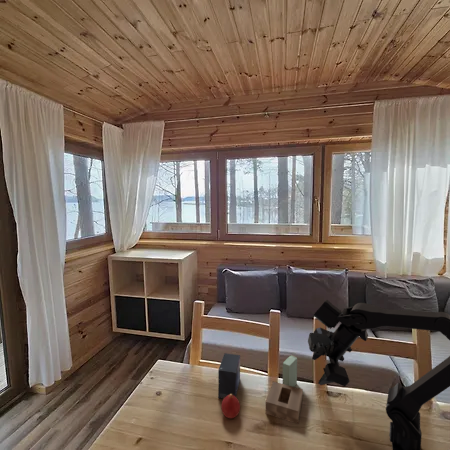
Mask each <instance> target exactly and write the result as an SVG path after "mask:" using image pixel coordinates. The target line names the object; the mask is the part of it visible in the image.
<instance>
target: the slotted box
mask: <svg viewBox="0 0 450 450" xmlns="http://www.w3.org/2000/svg"><path fill="white" fill-rule="evenodd" d="M303 392H304V389H303V388H299V387H295V386H294V387H292V386H288V385H285V384H283V383H281V382H276V381H272V383H271V385H270V389H269V391H268V394H267V396H266V399H265V414H266V415H270V416H272V417H275V418H279V419H282V420H286V421H287V422H288V421H289V422H290V423H294V424H297V425H298V424H299V420H300V415H301V410H302V406H303V396H304V394H303Z"/></svg>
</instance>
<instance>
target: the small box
mask: <svg viewBox="0 0 450 450" xmlns="http://www.w3.org/2000/svg"><path fill="white" fill-rule="evenodd" d="M217 370H218V373H217V375H218V376H217V377H218V379H217V380H218V382H217V383H218V387H217V388H218V393H217V394H218V395H217V398H218V399H222V400H223V399H224V398H225V397H226V396H227V395H230V394H232V395H234V396H235V397H236V398H237V395H238V391H239V387H240V386H239V385H240V381H241V355H239V354H233V353H227V352H225V353H223V356H222V359H221V361H220V365H219V367H218V369H217Z"/></svg>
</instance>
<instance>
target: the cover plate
mask: <svg viewBox="0 0 450 450" xmlns="http://www.w3.org/2000/svg"><path fill="white" fill-rule="evenodd" d="M297 380H298V357H296V356H294V355H290V356H289V357H287V358H286V359H285V360H284V361H283V362H282V384H285V385H288V386H292V387H295V386H297V384H298V382H297Z"/></svg>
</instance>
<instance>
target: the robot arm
mask: <svg viewBox="0 0 450 450" xmlns="http://www.w3.org/2000/svg"><path fill="white" fill-rule="evenodd" d="M313 317H314V319H316V320H318V321H319V322H320V323H321V324H323V325H324V326H325V327H326V328H327V329H330V330H331V329H335V328H336V326H338V327H337V328H336V329H335V330H334V332H333V331H329V330H327V329H324V328H322V327H317V328H315V329H314V331H313V332H309V334H308V337H307V343H308V348H309V351H310V352H312V353H313V354H312V357H311V359H312V360H313V361H316V360H318V359H319V358H321V356H326V357H327V358H328V359H329V362H328V363H326V365H325V367H323V372H324V373H323V374H322V375H321V377H320V379H318V385H320V386H323V385H327V384H332V383H335V384H338V385H340V386H343V387H346V386H347V385H348V384H349V383H350V382H351V380H350V378H349V376H348V372H347V370H346V368H345V367H344V366H341V365H340V363H339V361H340V362H344V361H345V357H344V355H345V354H346V353H351V352H352V351H353V349H352V346H353V344H354V343H355V342H356V341H357V339H358V338H360V339H362V340H363V341H364V342H366V341H367V340H368V338H369V334H368V330H375V329H379V328H384V327H385V328H386V327H390V328H399V329H400V328H401V329H409V330H410V329H411V330H421V331H431V332H439V333H441V334H442V336H445V337H446V339H447V340H449V341H450V314H449V313H447V312H445V311H437V312H433V311H421V310H420V311H419V310H417V311H416V310H407V309H405V310H404V309H402V310H401V309H390V308H388V309H387V308H383V307H382V308H381V307H379V306H378V305H376V304H375V305H374V304H370V303H366V302H358V303H356V304H354V306H349V307H345V308H343V309H342V310H341V309H339V308H338V307H336V305H334V304H332V302H331V301H330V300H328V299H326V300H325V301H324V302H323V303H322V304H321V305H320V306H319V307H318V309H317V310H316V311H315V312H314V314H313ZM339 323H340V324H339ZM338 324H339V325H338ZM448 388H450V355H449V356H448V357H446V359H444V360H443V361H441V362H440V363H439V364H437V365H435V366H434V367H433V368H432V369H430V370H429V371H428V372H426V373H425V374H424V375H422V376H420V378H418V379H417V380H416V381H414V382H413V383H411V384H410V385H408V386H403V385H402V384H401V383H400V382H397V383H396V384H395V386H393V387H390V388H389V389H388V392H387V399H386V405H385V406H386V407H385V413H386V415H387V417H388V418H389V419H390V420H391V421H390V422H389V441H390V443H391V447H392V448H391V449H392V450H422V449H421V447H422V435H423V434H422V430H421V412H420V410H421V408H422V407H423V406H424V405H425V404H426V403H428V402H430V401H431V400H432V399H434V398H435V397H437V396H438V395H439V394H441V393H442V392H444V391H445V390H447V389H448Z"/></svg>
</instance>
